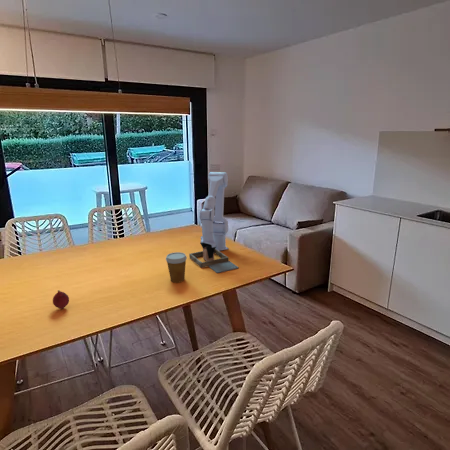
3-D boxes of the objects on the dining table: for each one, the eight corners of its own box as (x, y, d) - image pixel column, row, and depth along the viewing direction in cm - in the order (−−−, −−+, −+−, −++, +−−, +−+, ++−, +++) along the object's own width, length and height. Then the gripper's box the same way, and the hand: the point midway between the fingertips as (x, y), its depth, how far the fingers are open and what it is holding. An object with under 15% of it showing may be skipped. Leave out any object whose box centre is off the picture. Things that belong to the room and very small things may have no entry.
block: (203, 258, 183) (202, 248, 181) (210, 257, 185) (210, 246, 183) (206, 261, 179) (206, 250, 177) (214, 259, 181) (213, 249, 179)
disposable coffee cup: (189, 275, 163) (188, 252, 160) (185, 284, 154) (184, 259, 151) (170, 275, 164) (168, 251, 161) (164, 284, 155) (163, 259, 152)
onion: (72, 304, 138) (69, 286, 136) (66, 312, 133) (63, 293, 131) (58, 305, 138) (54, 287, 136) (51, 312, 133) (48, 293, 130)
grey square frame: (189, 258, 185) (189, 253, 184) (215, 252, 192) (215, 248, 191) (201, 267, 172) (201, 263, 171) (228, 261, 179) (228, 257, 178)
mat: (208, 266, 173) (208, 265, 173) (229, 262, 178) (229, 260, 178) (216, 273, 165) (216, 272, 165) (238, 268, 170) (238, 267, 170)
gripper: (195, 229, 182) (196, 253, 186) (206, 236, 170) (207, 262, 173) (207, 227, 185) (208, 251, 189) (219, 234, 173) (219, 259, 177)
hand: (208, 256), depth 181 cm, fingers closed on block, 4 cm apart
